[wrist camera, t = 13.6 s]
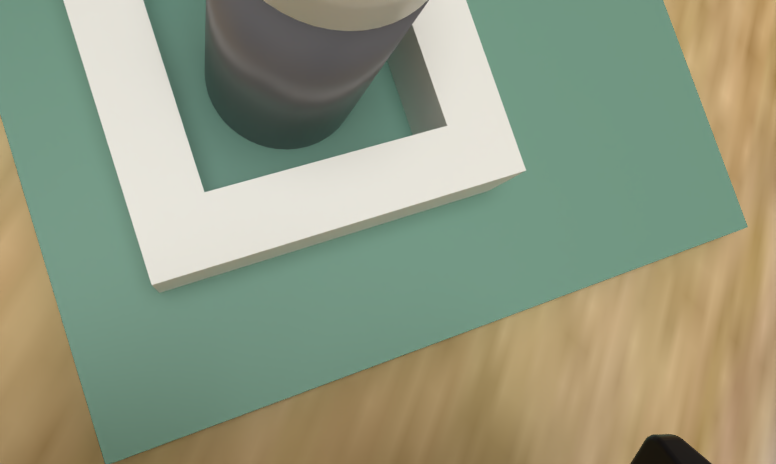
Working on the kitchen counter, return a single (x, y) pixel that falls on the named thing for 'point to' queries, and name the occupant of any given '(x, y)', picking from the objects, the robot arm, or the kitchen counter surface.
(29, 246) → the kitchen counter surface
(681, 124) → the board
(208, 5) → the dome-topped cylinder
